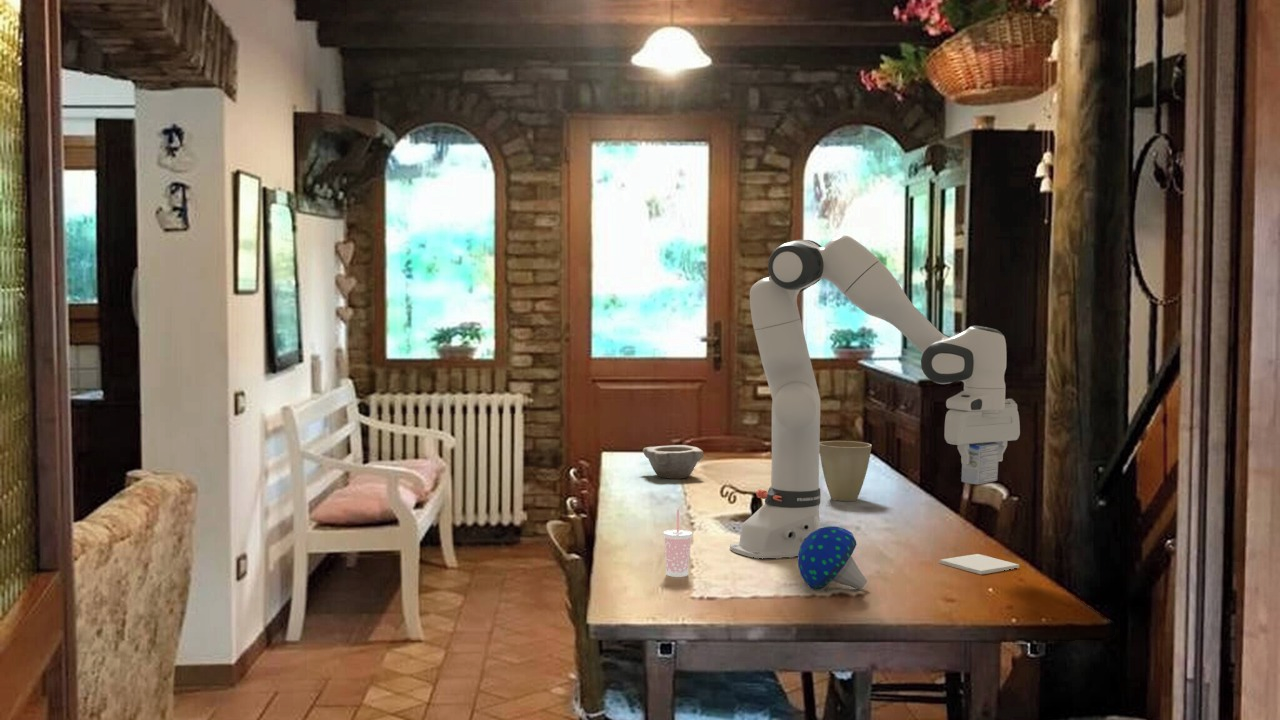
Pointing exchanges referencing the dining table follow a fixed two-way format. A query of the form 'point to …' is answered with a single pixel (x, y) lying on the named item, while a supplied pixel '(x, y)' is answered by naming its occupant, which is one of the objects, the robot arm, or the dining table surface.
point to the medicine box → (981, 463)
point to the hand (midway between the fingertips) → (982, 462)
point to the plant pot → (844, 467)
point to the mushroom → (829, 559)
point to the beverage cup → (677, 551)
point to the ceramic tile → (979, 564)
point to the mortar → (673, 460)
